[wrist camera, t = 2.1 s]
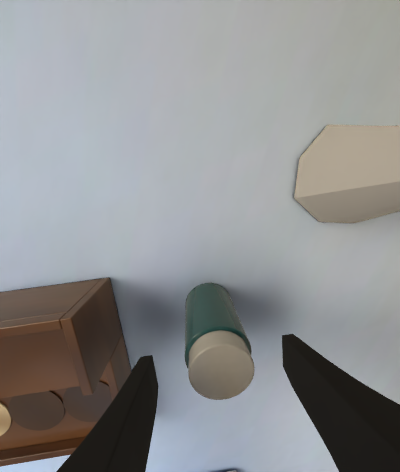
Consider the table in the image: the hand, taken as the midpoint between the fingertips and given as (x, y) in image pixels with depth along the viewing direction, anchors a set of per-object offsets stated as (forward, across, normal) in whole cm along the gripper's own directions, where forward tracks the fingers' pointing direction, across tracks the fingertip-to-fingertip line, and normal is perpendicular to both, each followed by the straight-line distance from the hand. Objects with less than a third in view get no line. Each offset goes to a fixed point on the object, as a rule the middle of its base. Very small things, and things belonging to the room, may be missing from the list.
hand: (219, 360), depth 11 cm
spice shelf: (+6, +16, +3) cm, 17 cm away
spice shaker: (+6, 0, 0) cm, 6 cm away
